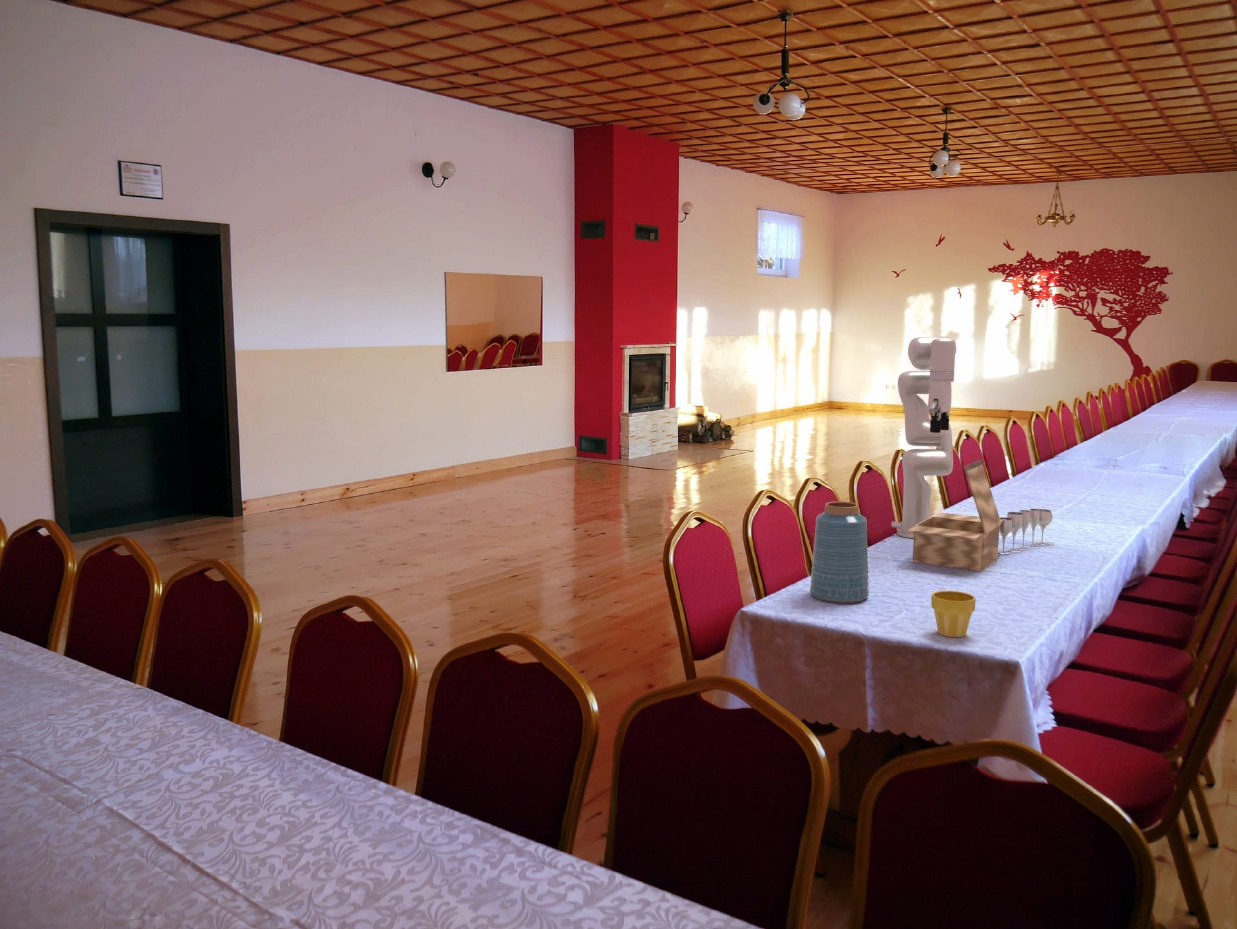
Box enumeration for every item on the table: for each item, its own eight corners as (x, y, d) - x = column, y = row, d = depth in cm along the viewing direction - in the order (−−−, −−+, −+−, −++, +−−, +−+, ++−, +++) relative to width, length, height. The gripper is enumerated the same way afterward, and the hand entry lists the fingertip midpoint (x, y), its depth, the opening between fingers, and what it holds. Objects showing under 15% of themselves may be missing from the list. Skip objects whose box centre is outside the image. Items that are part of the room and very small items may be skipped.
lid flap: (963, 466, 301) (965, 466, 300) (979, 460, 315) (981, 459, 315) (984, 533, 300) (986, 533, 299) (999, 523, 314) (1001, 523, 313)
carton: (904, 566, 307) (905, 529, 306) (937, 546, 335) (939, 512, 333) (975, 577, 295) (977, 538, 293) (1003, 554, 322) (1005, 519, 320)
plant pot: (937, 624, 249) (938, 587, 248) (978, 631, 244) (980, 593, 242) (924, 635, 241) (926, 597, 240) (967, 642, 235) (969, 603, 234)
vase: (835, 608, 264) (838, 512, 260) (798, 593, 278) (800, 502, 274) (881, 599, 272) (884, 506, 268) (842, 586, 286) (845, 497, 282)
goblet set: (1006, 556, 321) (1008, 516, 319) (991, 552, 326) (993, 514, 324) (1054, 544, 337) (1056, 507, 335) (1039, 541, 342) (1041, 504, 340)
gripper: (938, 375, 319) (936, 428, 322) (921, 378, 305) (919, 433, 308) (961, 376, 315) (959, 429, 318) (945, 378, 301) (942, 434, 304)
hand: (939, 431), depth 313 cm, fingers open, 8 cm apart
